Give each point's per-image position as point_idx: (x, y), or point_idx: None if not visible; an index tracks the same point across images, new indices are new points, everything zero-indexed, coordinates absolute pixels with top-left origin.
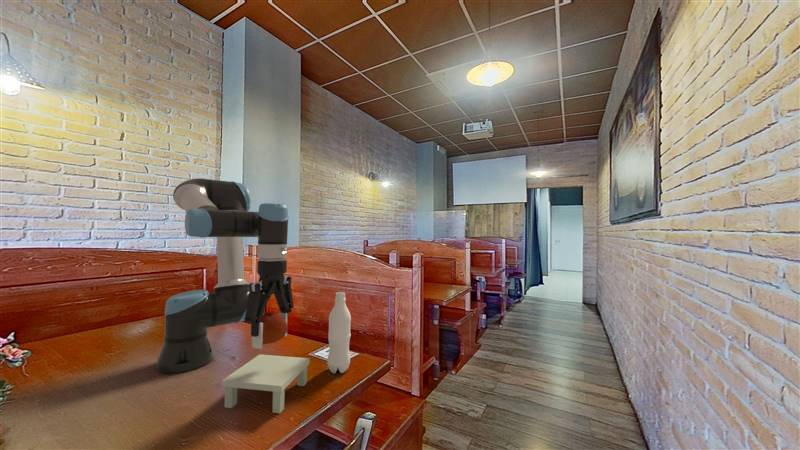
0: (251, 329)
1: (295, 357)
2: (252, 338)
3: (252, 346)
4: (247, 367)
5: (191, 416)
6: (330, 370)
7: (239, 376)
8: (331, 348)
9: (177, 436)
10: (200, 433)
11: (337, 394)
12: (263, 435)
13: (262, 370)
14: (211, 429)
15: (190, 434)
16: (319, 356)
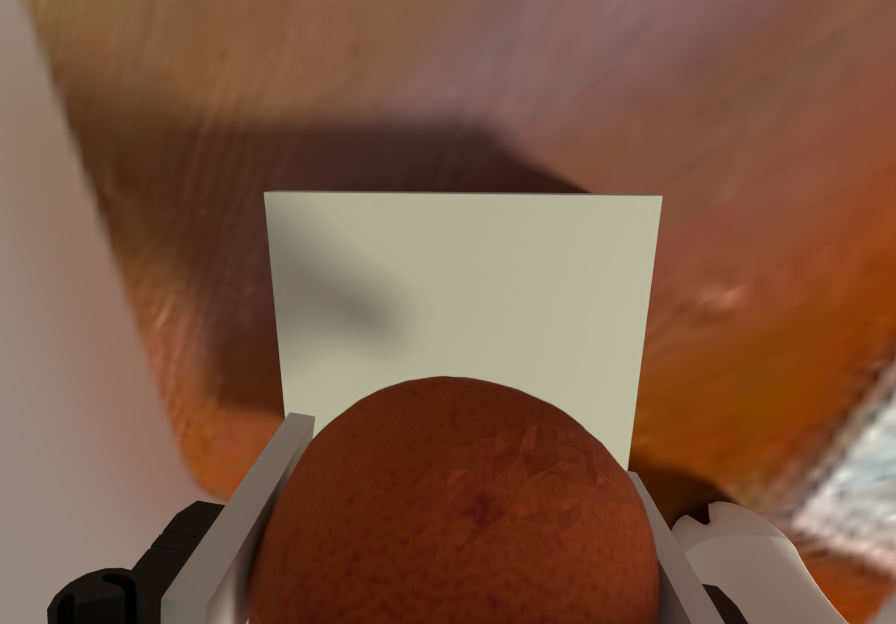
0: (140, 564)
1: (626, 452)
2: (259, 461)
3: (285, 423)
4: (448, 238)
5: (229, 91)
6: (680, 522)
7: (332, 263)
8: (744, 617)
9: (112, 144)
10: (155, 222)
11: None
12: (215, 444)
13: (428, 351)
14: (186, 247)
15: (138, 187)
16: (885, 398)
